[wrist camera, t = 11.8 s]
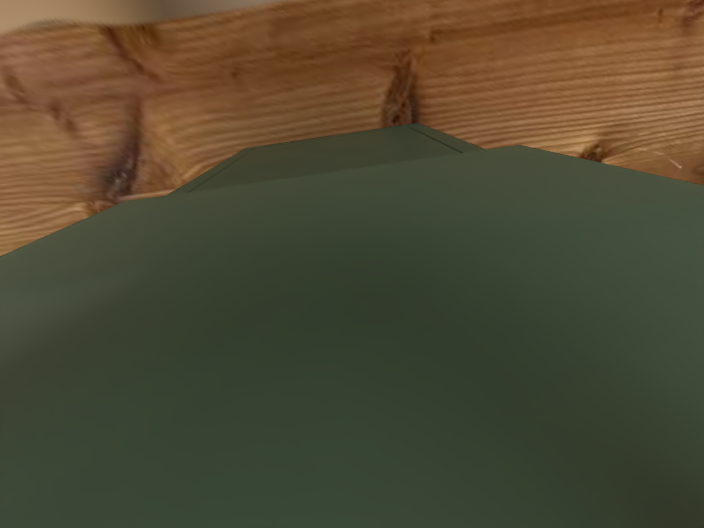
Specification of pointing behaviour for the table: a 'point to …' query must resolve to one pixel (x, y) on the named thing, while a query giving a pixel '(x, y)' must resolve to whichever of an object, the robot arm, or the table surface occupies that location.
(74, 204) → the table surface
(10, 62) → the table surface
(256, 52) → the table surface
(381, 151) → the bin
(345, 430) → the bin lid
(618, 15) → the table surface
